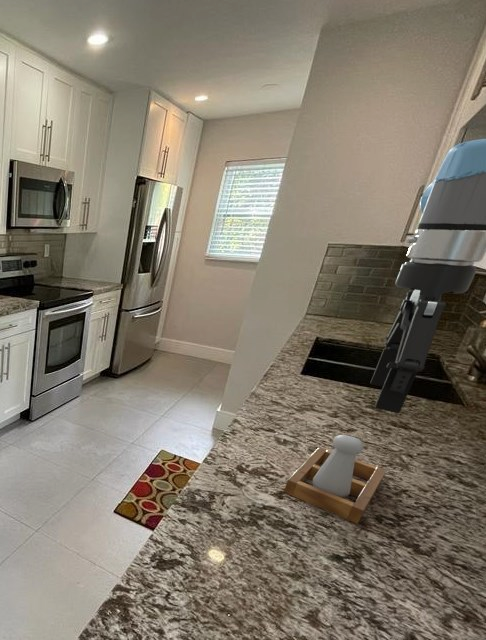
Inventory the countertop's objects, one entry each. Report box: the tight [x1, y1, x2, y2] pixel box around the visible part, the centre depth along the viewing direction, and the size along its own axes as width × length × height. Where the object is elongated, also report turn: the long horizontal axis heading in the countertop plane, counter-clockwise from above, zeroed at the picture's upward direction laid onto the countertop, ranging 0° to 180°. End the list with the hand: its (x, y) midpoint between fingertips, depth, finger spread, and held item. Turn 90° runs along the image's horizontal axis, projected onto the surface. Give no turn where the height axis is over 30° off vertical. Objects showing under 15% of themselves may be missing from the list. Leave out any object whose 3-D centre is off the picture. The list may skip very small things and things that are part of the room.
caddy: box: [283, 446, 387, 525], centre depth 84 cm, size 12×22×3 cm, turn 129°
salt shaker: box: [312, 434, 365, 499], centre depth 79 cm, size 6×6×13 cm
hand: (383, 397), depth 67 cm, fingers open, 13 cm apart
